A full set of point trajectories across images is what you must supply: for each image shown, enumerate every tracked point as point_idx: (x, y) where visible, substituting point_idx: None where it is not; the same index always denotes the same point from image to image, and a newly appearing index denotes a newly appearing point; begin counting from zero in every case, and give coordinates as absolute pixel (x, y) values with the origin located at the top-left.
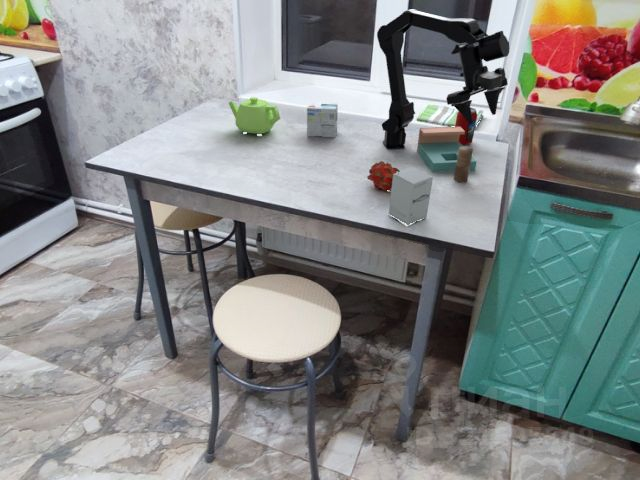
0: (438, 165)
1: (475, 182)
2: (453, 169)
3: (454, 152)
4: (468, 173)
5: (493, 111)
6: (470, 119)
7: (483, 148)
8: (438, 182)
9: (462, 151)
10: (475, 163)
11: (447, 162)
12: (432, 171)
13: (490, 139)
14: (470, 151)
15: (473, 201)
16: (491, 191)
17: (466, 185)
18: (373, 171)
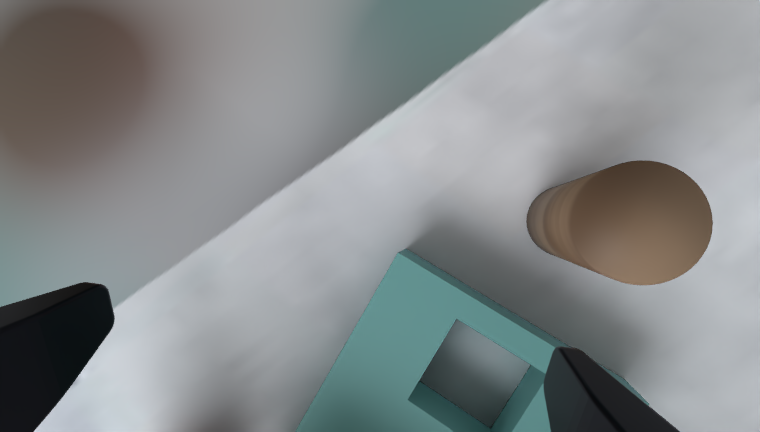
0: None
1: (521, 154)
2: (512, 313)
3: (403, 412)
4: (555, 187)
5: (72, 323)
6: (640, 399)
7: (175, 376)
8: (701, 271)
9: (708, 213)
10: (404, 253)
11: None
12: (622, 379)
13: (74, 416)
14: (655, 162)
15: (717, 13)
16: (536, 43)
17: (591, 158)
18: None
